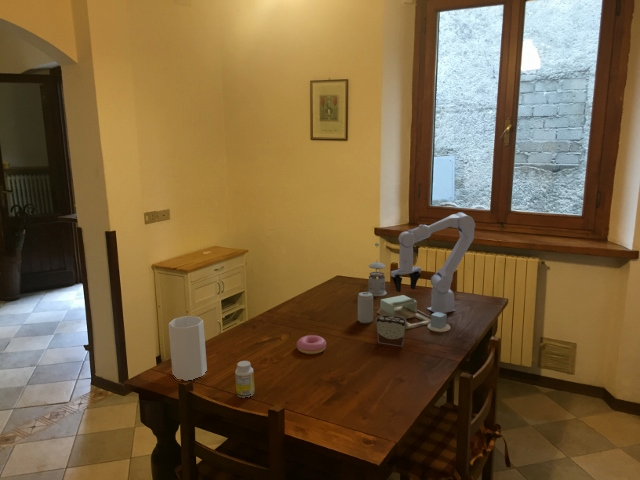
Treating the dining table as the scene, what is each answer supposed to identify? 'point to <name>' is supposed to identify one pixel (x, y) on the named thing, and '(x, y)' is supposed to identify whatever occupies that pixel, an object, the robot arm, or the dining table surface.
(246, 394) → the supplement bottle
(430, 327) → the cream saucer
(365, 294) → the beverage can
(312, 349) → the doughnut
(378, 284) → the french press
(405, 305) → the sliding cover
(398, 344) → the food container
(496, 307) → the dining table surface
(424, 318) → the beige open frame
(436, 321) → the slate-blue block
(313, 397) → the dining table surface
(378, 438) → the dining table surface
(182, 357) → the cup
